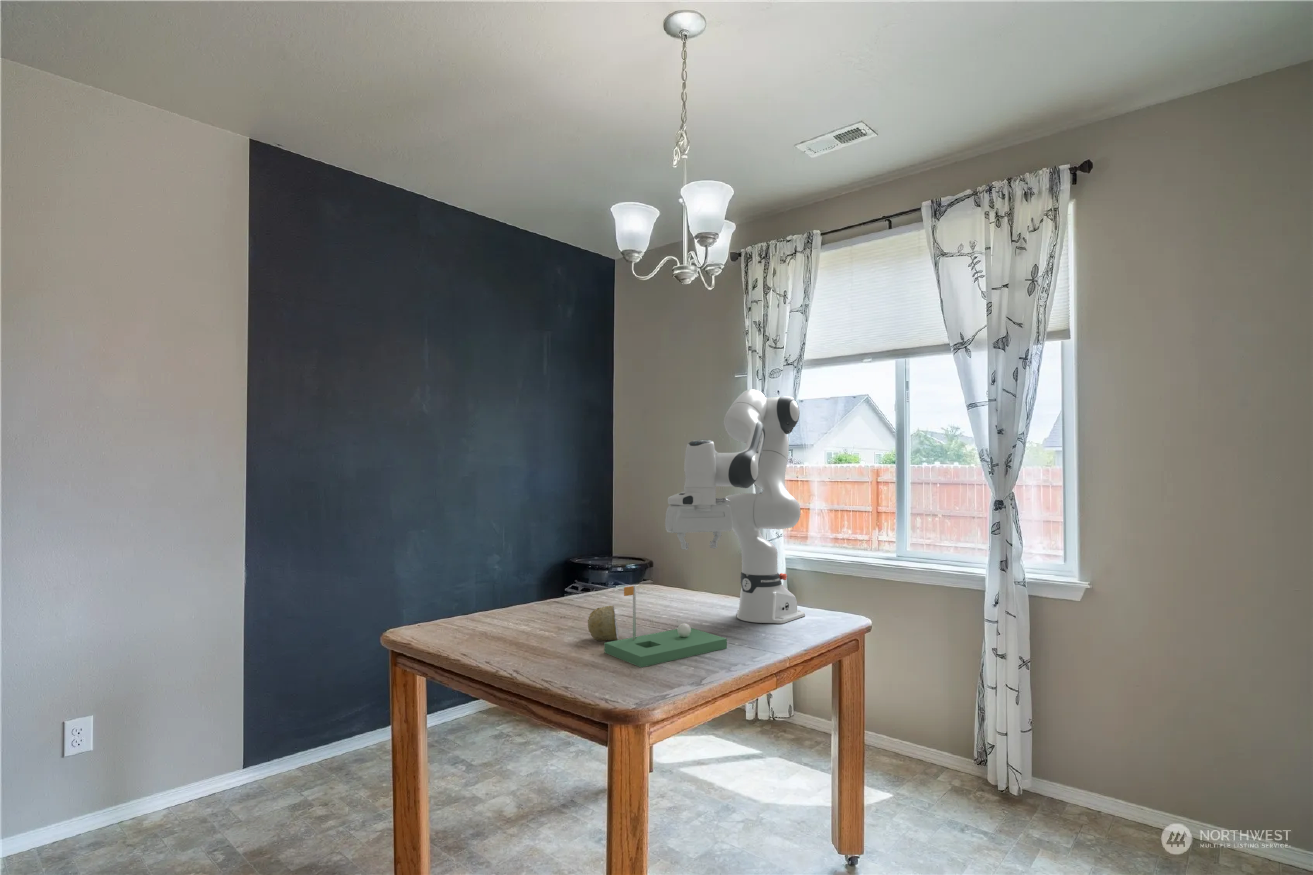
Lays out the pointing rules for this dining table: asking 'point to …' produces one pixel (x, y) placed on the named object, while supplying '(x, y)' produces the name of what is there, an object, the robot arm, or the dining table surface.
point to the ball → (684, 630)
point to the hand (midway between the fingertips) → (699, 548)
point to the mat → (661, 643)
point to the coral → (603, 624)
